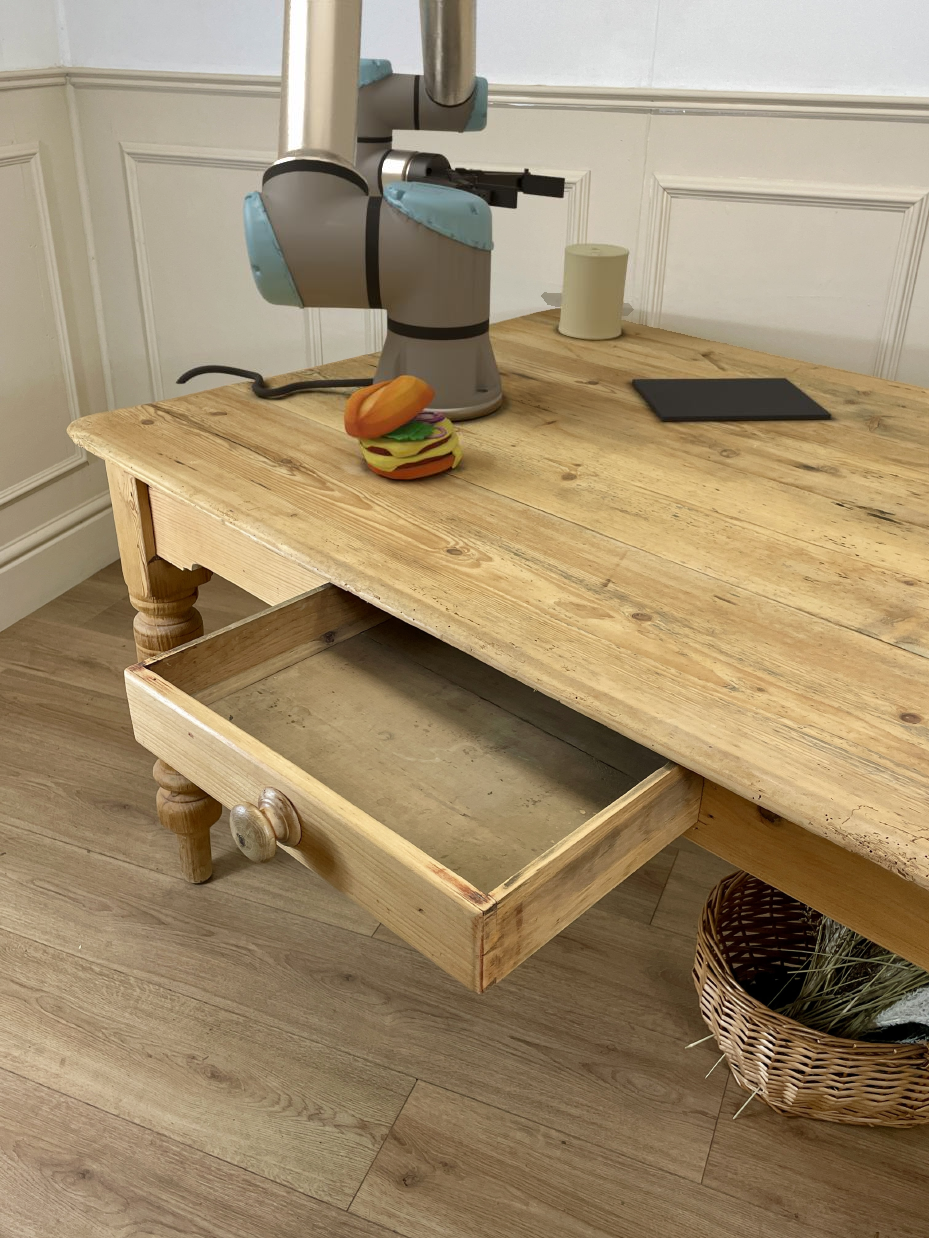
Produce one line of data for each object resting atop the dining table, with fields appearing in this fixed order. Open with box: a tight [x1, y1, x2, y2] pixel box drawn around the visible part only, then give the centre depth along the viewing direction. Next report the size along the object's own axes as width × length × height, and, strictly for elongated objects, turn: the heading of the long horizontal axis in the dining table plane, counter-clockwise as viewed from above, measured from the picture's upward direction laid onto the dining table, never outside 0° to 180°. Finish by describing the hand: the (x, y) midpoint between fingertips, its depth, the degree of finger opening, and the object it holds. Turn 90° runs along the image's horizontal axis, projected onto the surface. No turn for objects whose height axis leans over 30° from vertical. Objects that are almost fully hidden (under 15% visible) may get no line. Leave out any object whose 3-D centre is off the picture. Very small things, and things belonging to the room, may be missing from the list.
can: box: [558, 243, 630, 341], centre depth 143 cm, size 9×9×12 cm
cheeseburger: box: [343, 375, 463, 480], centre depth 98 cm, size 10×11×10 cm
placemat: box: [631, 377, 832, 422], centre depth 120 cm, size 20×14×1 cm
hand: (540, 193), depth 141 cm, fingers open, 13 cm apart
